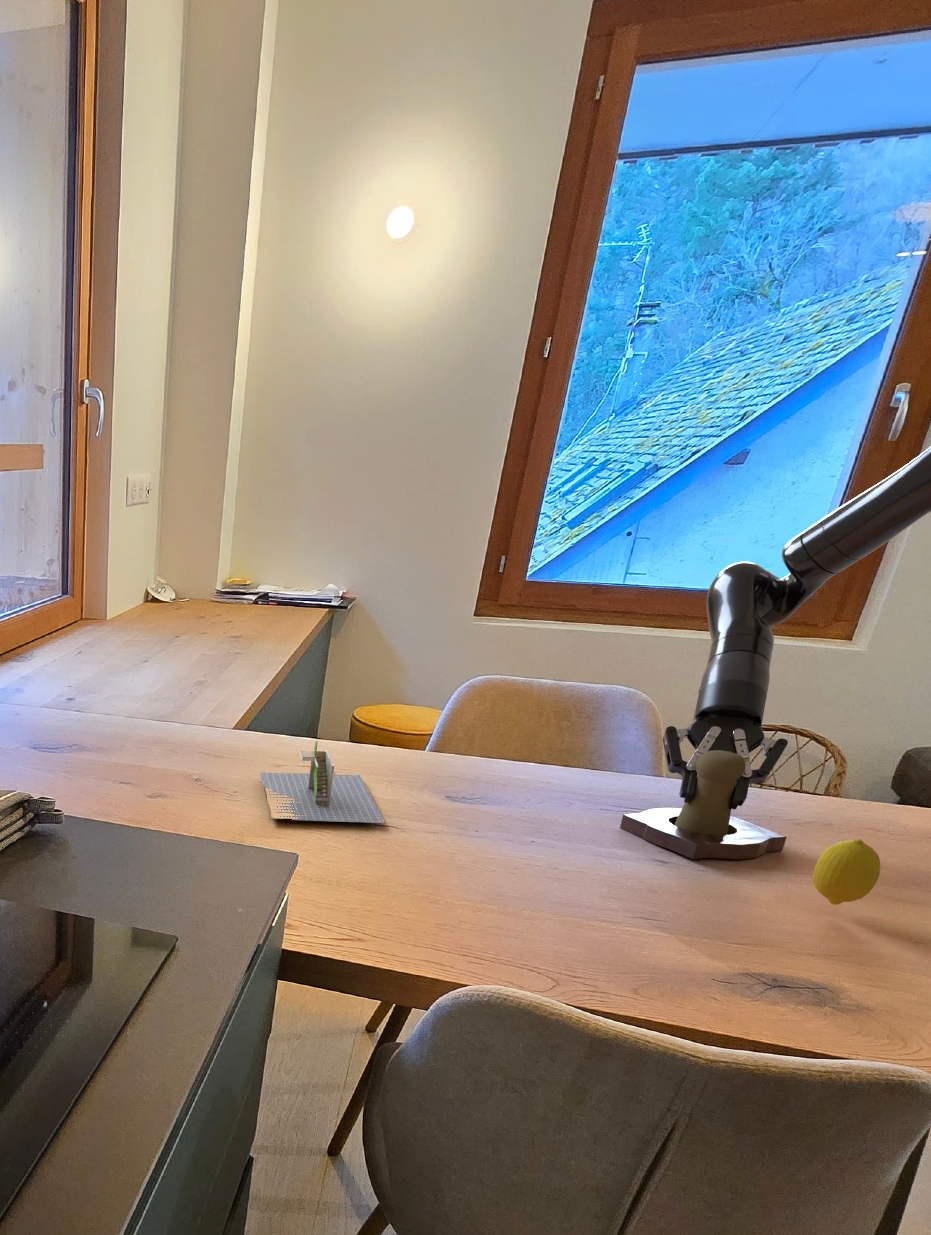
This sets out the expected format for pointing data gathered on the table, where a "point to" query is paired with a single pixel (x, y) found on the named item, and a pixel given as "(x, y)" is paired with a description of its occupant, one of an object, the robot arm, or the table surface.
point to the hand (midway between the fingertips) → (711, 802)
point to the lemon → (846, 871)
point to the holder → (702, 836)
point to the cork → (712, 793)
